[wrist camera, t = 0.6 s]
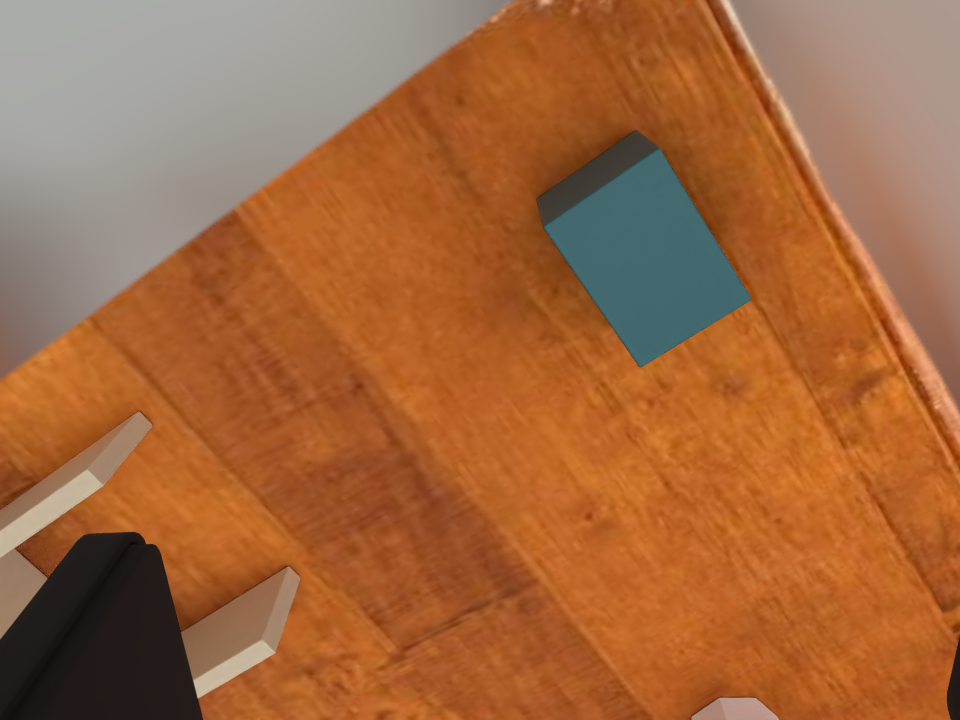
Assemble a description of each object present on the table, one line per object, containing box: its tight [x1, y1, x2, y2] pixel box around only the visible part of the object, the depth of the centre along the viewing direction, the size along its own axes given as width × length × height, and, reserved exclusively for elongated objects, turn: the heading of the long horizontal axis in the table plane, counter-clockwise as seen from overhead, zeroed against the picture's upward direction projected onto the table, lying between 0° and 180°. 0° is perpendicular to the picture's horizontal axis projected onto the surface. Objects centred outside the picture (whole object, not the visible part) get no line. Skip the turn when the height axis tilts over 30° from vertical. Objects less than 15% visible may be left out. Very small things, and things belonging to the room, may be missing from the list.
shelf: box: [0, 411, 300, 698], centre depth 39 cm, size 12×12×6 cm
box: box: [536, 130, 751, 367], centre depth 33 cm, size 5×7×5 cm
